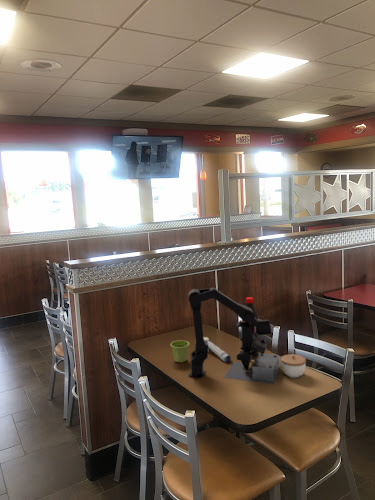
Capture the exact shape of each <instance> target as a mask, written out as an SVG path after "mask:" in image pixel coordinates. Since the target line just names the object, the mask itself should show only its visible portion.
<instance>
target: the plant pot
mask: <svg viewBox="0 0 375 500" xmlns="http://www.w3.org/2000/svg"><path fill="white" fill-rule="evenodd" d="M170 346H171V349H172V354H173V359H174V362H176V363H185V362H186V361H187V357H188V349H189V346H190V342H189V341H187V340H174V341H171V343H170Z"/></svg>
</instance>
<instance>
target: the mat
mask: <svg viewBox="0 0 375 500" xmlns="http://www.w3.org/2000/svg"><path fill="white" fill-rule="evenodd" d="M281 369H282V366H281V367H280V366H279V370H278V372H277V375H276V378H275V380H274V383H268V382H261V381H254V380H253V371H246V370H243V364H242V362H241V361H240V362H239V361H233V362H232V365H230V367H229V369H227V370H228V371H227V372H226V373H225V375H224V377H223V378H225V379H231V380H232V379H234V380H239V381H247V382H255V383H261V384H268V385H269V384H270V385H275V383H276V381H277V378H278V375H279V373H280V371H281Z"/></svg>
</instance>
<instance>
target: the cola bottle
mask: <svg viewBox="0 0 375 500" xmlns="http://www.w3.org/2000/svg"><path fill="white" fill-rule="evenodd" d="M254 301H255V300H254V298H253V297H249V296H247V297H245V306H247V307H249V308H250V309H251V310H252V311H253V313H254V316H255V318H256V319H257V320H259V315H258V313H257V310H256V308H255V306H254ZM241 321H242V322H244V321H243V320H242V319H241ZM249 323H250V322H249ZM254 336H255V337H256V340H257V341H258V339H259V335H258V334H257V333H255V326H254ZM241 351H243V350H241ZM257 355H259V352H258V351H256V353H254V354H253V357H256V356H257Z"/></svg>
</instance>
